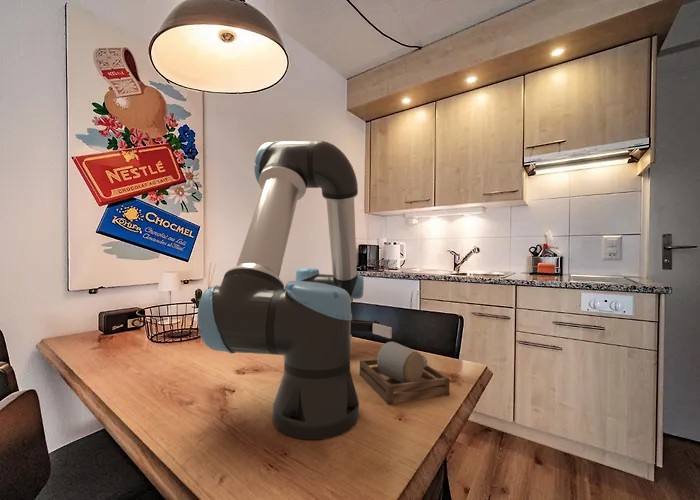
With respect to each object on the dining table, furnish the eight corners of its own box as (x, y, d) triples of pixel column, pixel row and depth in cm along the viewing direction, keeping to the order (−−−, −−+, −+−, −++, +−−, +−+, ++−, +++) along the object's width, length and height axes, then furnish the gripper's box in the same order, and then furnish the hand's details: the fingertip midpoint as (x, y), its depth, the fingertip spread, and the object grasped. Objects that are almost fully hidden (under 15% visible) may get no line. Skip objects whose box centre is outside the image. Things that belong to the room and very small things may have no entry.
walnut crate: (388, 404, 60) (388, 386, 60) (359, 374, 74) (359, 360, 74) (449, 395, 64) (449, 378, 64) (410, 368, 79) (411, 355, 79)
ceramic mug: (410, 394, 64) (401, 361, 62) (380, 382, 70) (372, 352, 69) (437, 365, 71) (430, 335, 69) (408, 356, 77) (401, 328, 75)
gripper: (354, 328, 101) (404, 343, 85) (285, 340, 86) (330, 362, 69) (355, 305, 101) (405, 316, 85) (285, 313, 86) (331, 328, 69)
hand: (371, 336), depth 77 cm, fingers open, 13 cm apart
